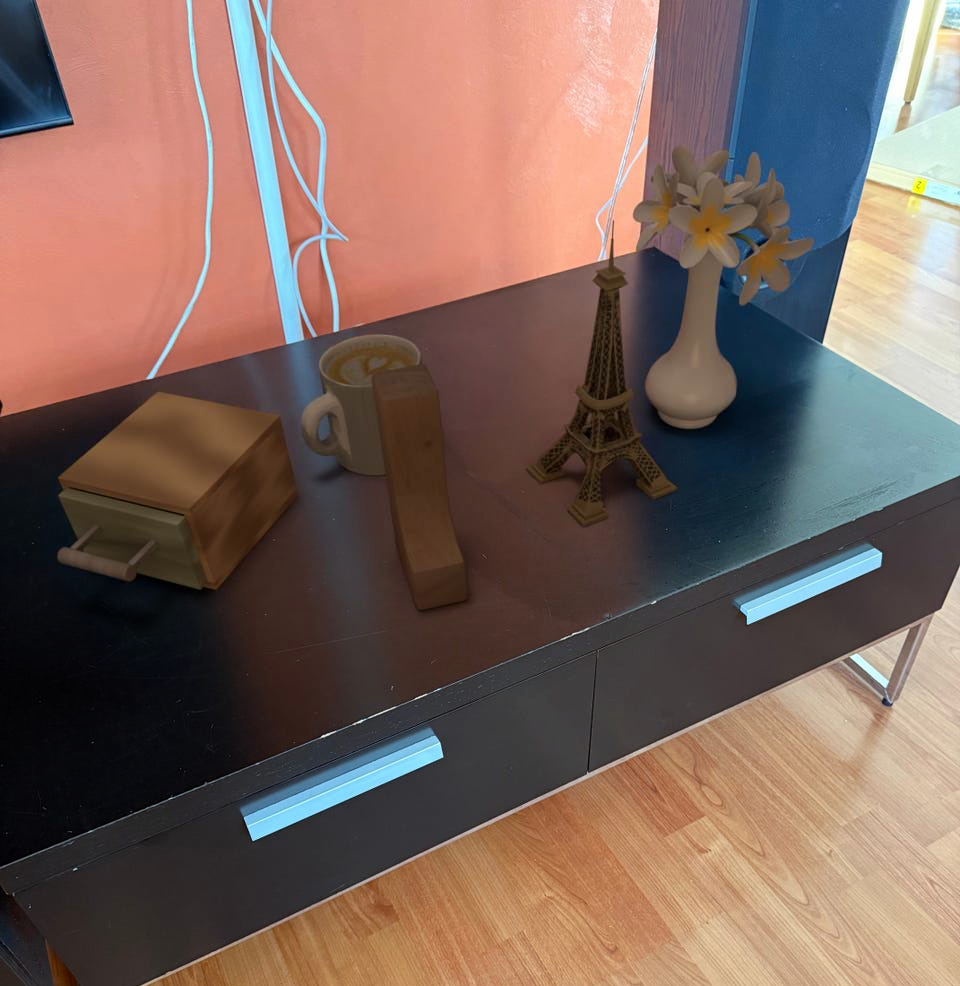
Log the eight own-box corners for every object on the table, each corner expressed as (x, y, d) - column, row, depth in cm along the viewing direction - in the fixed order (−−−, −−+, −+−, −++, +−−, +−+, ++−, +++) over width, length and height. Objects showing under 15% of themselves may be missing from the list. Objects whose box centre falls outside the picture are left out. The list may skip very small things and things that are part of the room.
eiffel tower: (614, 437, 98) (630, 184, 80) (676, 490, 91) (709, 227, 73) (525, 469, 95) (521, 214, 77) (583, 527, 88) (593, 261, 70)
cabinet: (216, 590, 84) (188, 508, 78) (93, 557, 88) (57, 477, 82) (298, 495, 93) (280, 415, 87) (183, 469, 98) (157, 391, 91)
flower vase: (713, 479, 92) (755, 217, 74) (589, 400, 103) (599, 154, 85) (805, 430, 97) (864, 174, 79) (678, 360, 108) (704, 120, 90)
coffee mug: (403, 410, 103) (393, 324, 96) (447, 454, 97) (439, 366, 90) (289, 450, 99) (269, 363, 92) (327, 499, 93) (308, 409, 86)
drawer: (169, 626, 80) (142, 560, 75) (52, 592, 84) (19, 528, 78) (279, 500, 92) (263, 435, 86) (172, 476, 95) (151, 412, 90)
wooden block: (468, 601, 82) (454, 420, 69) (417, 612, 81) (393, 432, 68) (443, 537, 88) (425, 361, 75) (395, 548, 87) (369, 371, 74)
